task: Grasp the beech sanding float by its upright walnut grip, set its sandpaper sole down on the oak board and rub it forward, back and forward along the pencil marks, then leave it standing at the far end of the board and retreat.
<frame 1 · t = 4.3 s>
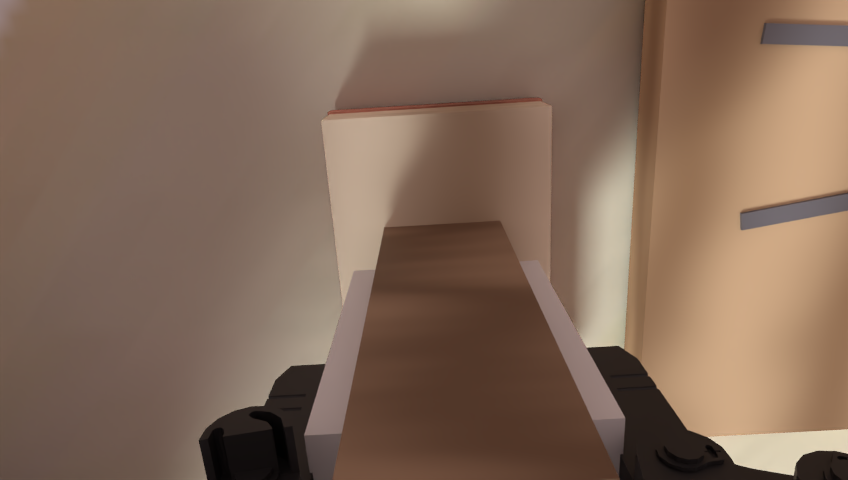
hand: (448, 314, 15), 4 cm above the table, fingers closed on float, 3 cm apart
float: (442, 264, 18), on the table, touching gripper
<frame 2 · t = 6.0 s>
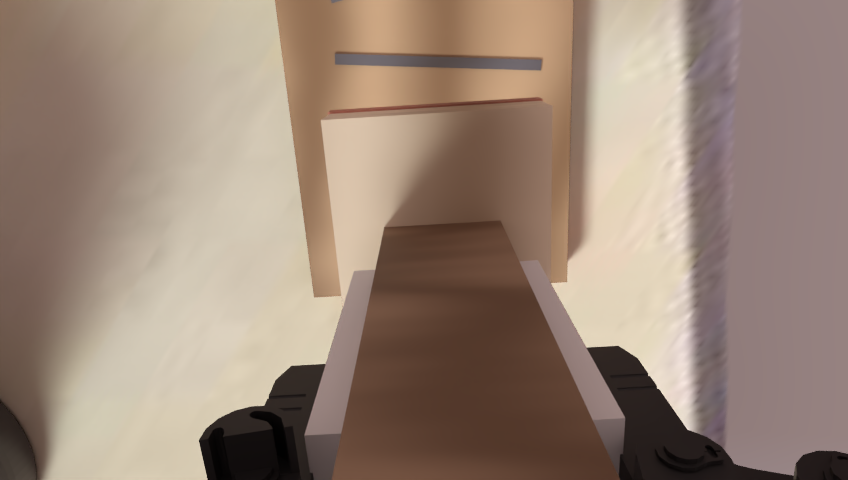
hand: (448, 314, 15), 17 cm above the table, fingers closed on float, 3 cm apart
float: (443, 264, 18), point 13 cm above the table, touching gripper
board: (428, 82, 29), on the table
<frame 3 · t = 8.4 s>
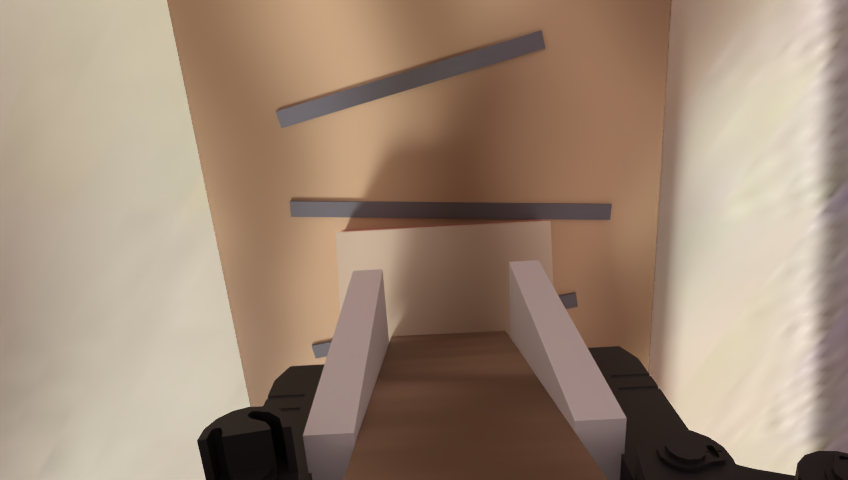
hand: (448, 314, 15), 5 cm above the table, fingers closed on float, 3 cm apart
float: (449, 382, 18), point 3 cm above the table, tilted 17°, touching board, gripper
board: (435, 226, 20), on the table
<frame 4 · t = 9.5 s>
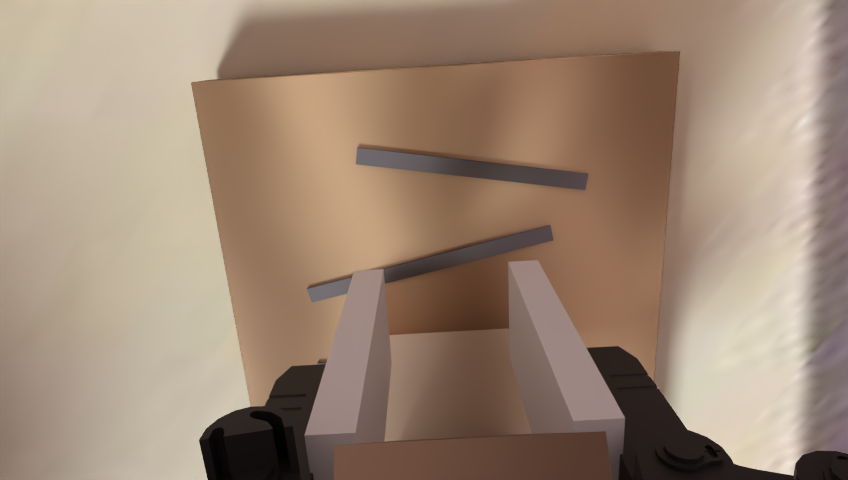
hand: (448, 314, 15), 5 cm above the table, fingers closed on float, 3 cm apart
board: (449, 373, 21), on the table
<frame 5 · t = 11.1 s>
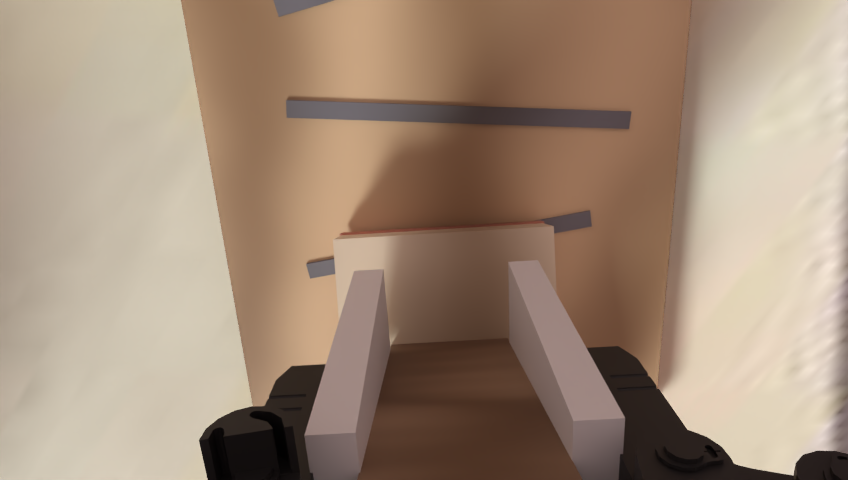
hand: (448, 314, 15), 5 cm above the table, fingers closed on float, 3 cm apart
float: (450, 385, 18), point 3 cm above the table, tilted 14°, touching gripper
board: (441, 141, 18), on the table
when the fingers open (5 cm above the table, at t = 13.8 s): float drops 2 cm, resting on board.
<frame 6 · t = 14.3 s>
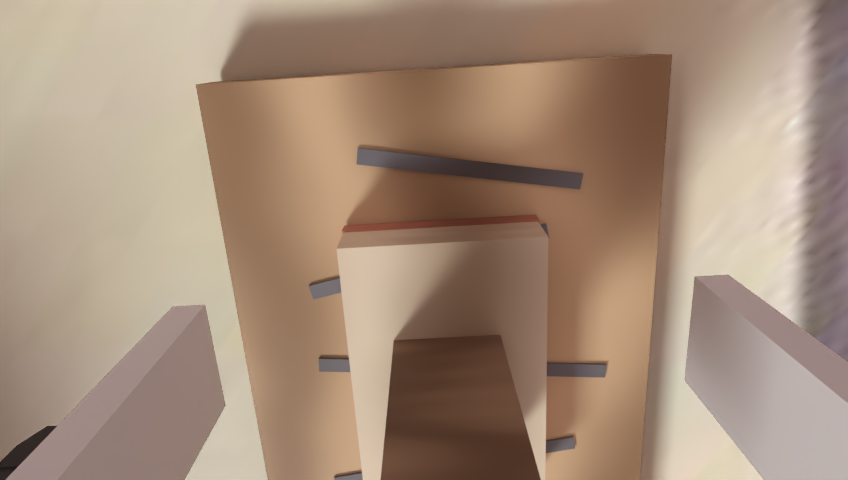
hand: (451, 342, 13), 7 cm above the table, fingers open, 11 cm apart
float: (446, 359, 20), point 2 cm above the table, touching board
board: (447, 369, 22), on the table
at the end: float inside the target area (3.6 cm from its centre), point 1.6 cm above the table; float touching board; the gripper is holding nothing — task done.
